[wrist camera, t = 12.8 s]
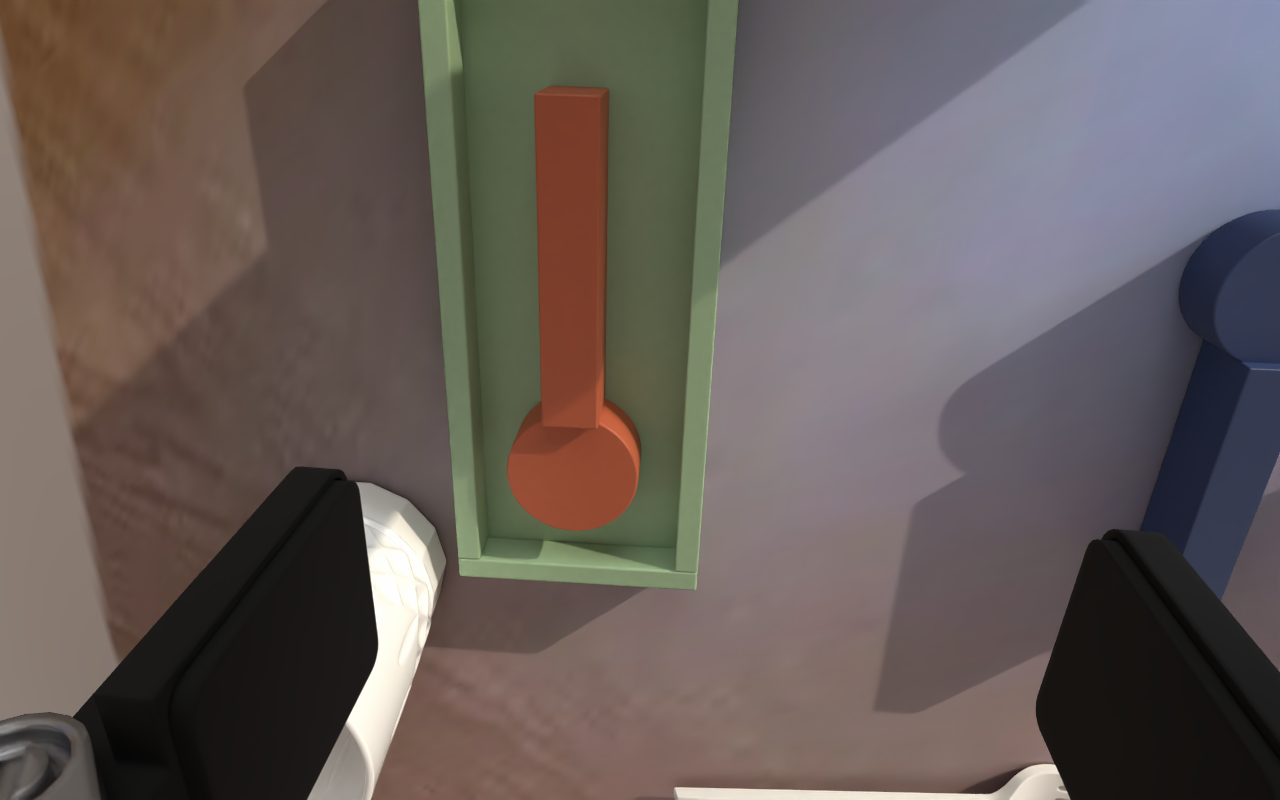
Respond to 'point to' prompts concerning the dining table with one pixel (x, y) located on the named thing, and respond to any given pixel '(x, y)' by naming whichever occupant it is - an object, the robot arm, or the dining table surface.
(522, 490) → the terracotta spoon
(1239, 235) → the blue spoon
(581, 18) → the tray
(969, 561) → the dining table surface
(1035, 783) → the fork
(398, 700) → the white cup
